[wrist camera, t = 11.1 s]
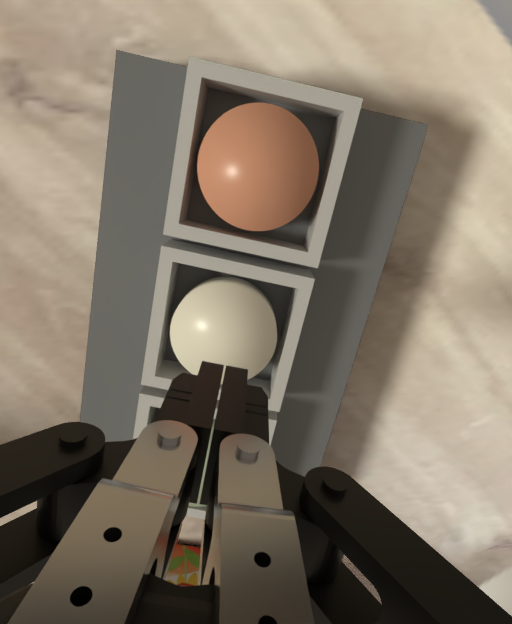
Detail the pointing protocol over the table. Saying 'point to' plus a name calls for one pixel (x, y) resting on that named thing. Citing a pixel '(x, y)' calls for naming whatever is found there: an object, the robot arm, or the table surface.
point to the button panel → (237, 247)
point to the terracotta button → (258, 166)
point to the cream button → (224, 326)
